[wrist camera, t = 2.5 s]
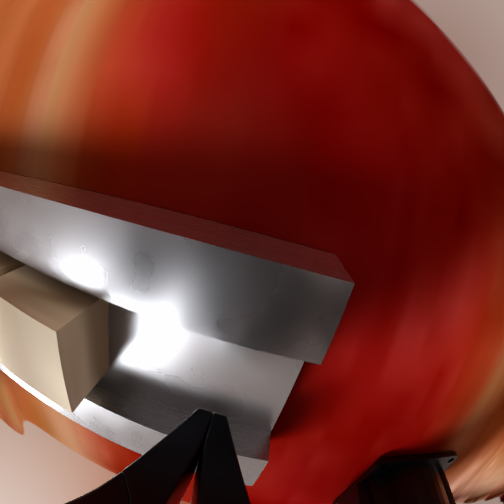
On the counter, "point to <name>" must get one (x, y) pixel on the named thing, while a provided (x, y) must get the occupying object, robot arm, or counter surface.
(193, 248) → the slot rail
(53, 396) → the block
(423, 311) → the counter surface
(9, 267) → the block
